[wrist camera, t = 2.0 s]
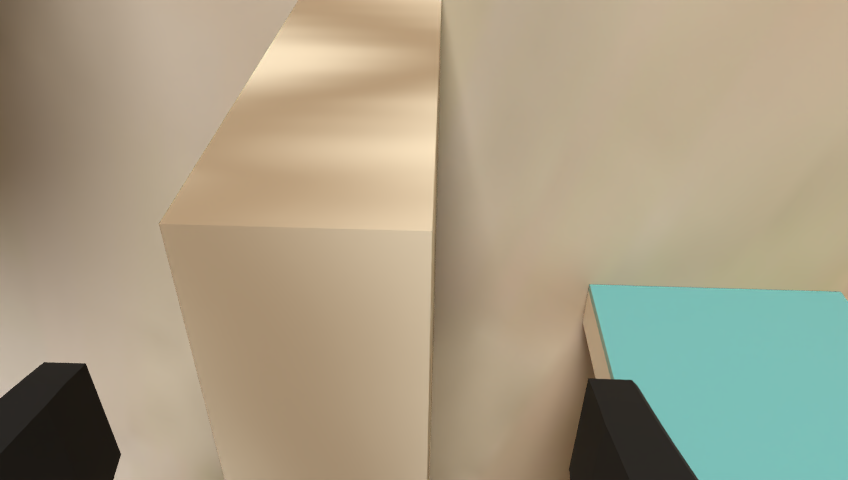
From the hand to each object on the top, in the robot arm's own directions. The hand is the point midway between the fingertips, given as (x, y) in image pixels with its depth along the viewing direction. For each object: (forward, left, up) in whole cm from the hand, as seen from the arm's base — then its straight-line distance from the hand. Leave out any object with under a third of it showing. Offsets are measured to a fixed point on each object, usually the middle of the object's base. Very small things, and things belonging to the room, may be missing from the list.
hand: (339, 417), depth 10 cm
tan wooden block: (0, 0, -6) cm, 6 cm away
